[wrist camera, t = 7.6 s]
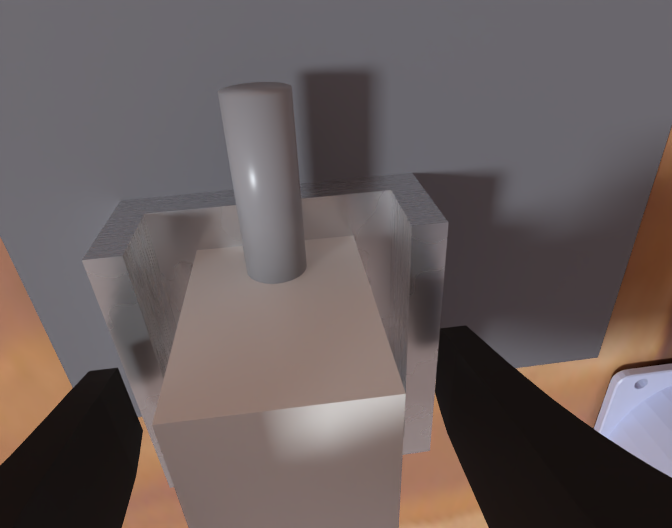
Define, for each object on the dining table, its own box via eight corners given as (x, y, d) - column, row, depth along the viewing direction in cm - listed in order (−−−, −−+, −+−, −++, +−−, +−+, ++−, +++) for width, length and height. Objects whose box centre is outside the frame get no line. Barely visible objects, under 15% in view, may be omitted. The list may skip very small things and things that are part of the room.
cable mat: (758, -197, 10) (777, -203, 9) (591, 350, 18) (597, 357, 17) (-176, -165, 8) (-194, -171, 8) (93, 414, 16) (89, 422, 16)
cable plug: (349, 71, 10) (417, 152, 6) (356, 351, 14) (398, 531, 10) (160, 83, 10) (63, 180, 5) (222, 366, 14) (200, 560, 9)
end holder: (412, 172, 13) (448, 222, 10) (404, 378, 17) (429, 450, 14) (120, 200, 12) (81, 260, 10) (185, 406, 16) (169, 487, 14)
